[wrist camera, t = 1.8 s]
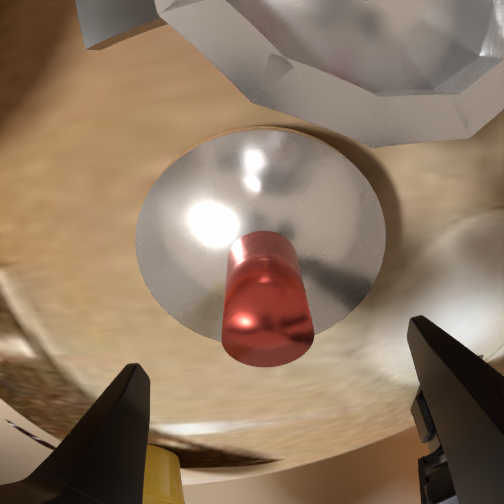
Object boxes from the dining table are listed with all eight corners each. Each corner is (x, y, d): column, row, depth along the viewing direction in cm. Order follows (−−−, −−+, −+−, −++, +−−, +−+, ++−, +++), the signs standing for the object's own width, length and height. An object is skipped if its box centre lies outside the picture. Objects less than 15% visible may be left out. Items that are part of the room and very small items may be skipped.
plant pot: (94, 428, 27) (76, 504, 19) (183, 440, 27) (176, 526, 19) (126, 461, 33) (116, 523, 25) (200, 469, 33) (197, 536, 25)
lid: (363, 105, 12) (444, 138, 6) (372, 303, 18) (407, 390, 12) (113, 159, 13) (38, 225, 8) (188, 335, 19) (174, 425, 13)
